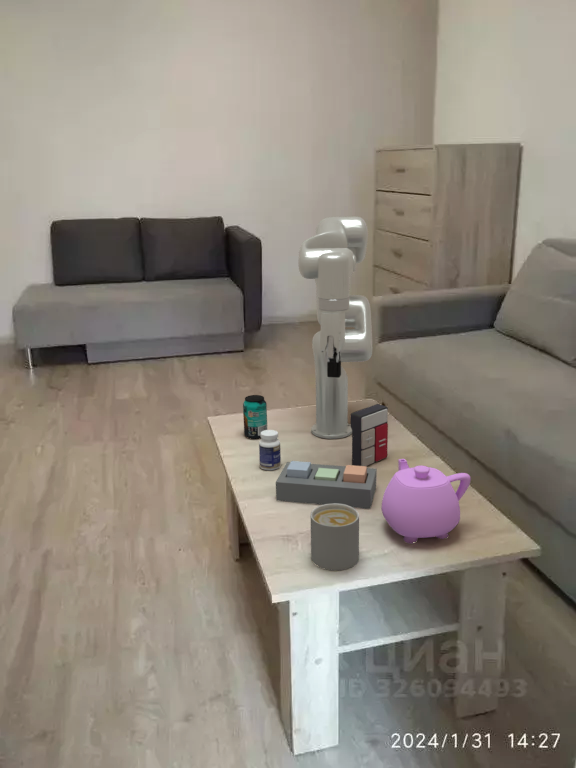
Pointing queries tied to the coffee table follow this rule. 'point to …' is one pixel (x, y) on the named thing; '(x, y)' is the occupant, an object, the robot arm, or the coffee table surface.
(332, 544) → the coffee mug
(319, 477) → the sage button
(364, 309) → the robot arm
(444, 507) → the teapot
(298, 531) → the coffee table surface
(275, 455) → the pill bottle
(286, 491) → the button housing
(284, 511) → the coffee table surface
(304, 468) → the slate button
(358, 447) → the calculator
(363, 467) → the terracotta button
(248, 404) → the teal supplement jar
